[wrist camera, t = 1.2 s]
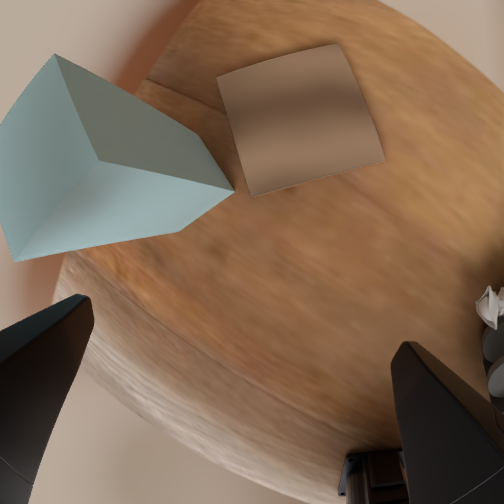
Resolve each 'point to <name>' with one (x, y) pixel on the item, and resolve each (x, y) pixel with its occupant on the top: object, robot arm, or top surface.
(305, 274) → the top surface
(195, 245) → the top surface
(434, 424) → the robot arm
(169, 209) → the pillar
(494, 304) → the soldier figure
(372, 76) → the top surface
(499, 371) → the character figurine
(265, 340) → the top surface
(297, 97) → the base tile
